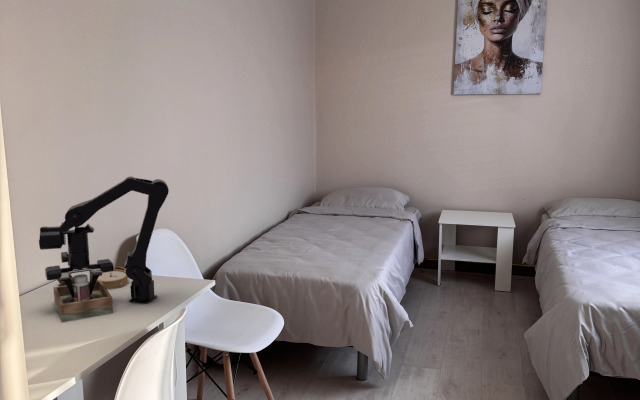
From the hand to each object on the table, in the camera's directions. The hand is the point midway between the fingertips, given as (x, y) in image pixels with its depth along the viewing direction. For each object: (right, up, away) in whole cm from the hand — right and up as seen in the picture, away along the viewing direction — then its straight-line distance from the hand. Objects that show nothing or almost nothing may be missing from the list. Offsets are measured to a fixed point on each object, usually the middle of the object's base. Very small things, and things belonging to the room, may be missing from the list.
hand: (81, 295), depth 165 cm
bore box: (+1, -3, -1) cm, 4 cm away
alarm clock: (0, 0, +23) cm, 23 cm away
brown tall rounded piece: (-13, 0, +18) cm, 22 cm away
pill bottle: (0, -2, 0) cm, 2 cm away
